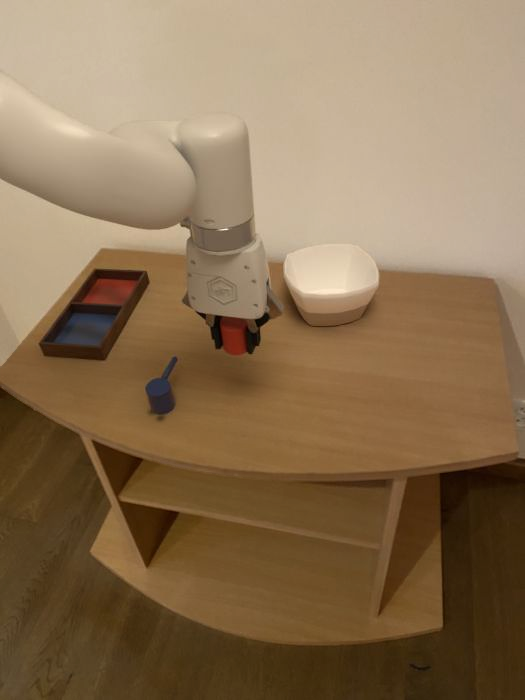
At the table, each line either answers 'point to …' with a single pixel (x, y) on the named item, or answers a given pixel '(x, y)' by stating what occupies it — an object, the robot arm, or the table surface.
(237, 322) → the red round-headed part
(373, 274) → the bowl
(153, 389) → the blue mallet
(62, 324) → the tray
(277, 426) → the table surface
